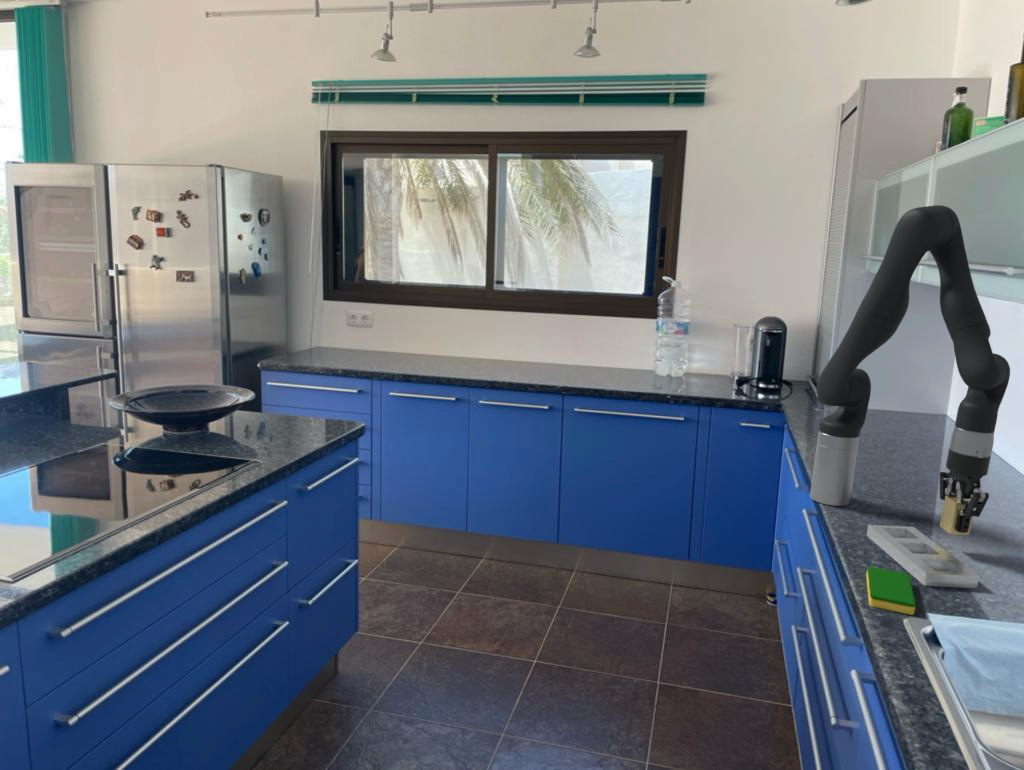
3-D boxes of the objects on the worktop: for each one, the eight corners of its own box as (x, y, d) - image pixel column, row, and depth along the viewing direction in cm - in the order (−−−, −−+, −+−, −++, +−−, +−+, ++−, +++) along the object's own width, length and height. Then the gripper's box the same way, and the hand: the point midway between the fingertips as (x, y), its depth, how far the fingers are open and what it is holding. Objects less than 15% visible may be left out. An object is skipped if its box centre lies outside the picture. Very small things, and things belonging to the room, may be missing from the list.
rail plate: (866, 535, 167) (868, 524, 166) (911, 537, 167) (913, 527, 166) (924, 585, 143) (926, 573, 143) (977, 588, 143) (979, 575, 143)
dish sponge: (868, 608, 134) (870, 595, 134) (865, 577, 147) (867, 565, 146) (913, 617, 132) (915, 604, 131) (906, 585, 144) (908, 573, 144)
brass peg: (939, 526, 162) (945, 495, 161) (958, 527, 162) (964, 496, 161) (950, 534, 158) (956, 502, 157) (969, 535, 158) (975, 503, 157)
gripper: (933, 438, 163) (919, 513, 167) (973, 459, 149) (957, 540, 153) (967, 440, 163) (953, 515, 167) (1010, 461, 150) (993, 542, 153)
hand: (955, 527), depth 160 cm, fingers closed on brass peg, 4 cm apart
